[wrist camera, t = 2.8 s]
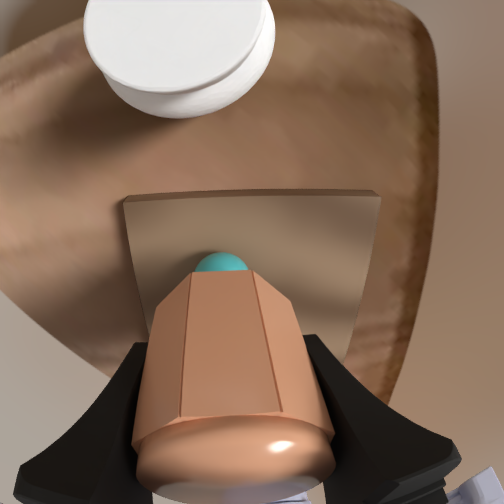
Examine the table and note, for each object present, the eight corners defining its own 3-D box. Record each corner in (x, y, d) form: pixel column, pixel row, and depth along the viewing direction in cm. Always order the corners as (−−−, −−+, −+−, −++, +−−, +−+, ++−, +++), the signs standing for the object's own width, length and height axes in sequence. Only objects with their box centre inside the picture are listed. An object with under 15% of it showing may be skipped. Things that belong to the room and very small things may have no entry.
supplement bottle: (126, 86, 13) (19, 82, 5) (178, 0, 11) (138, -100, 3) (217, 129, 15) (219, 169, 6) (270, 43, 13) (343, -22, 4)
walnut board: (337, 358, 24) (341, 368, 23) (163, 370, 23) (162, 382, 21) (372, 190, 17) (381, 196, 16) (128, 195, 16) (122, 202, 15)
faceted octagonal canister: (283, 364, 14) (316, 496, 8) (170, 370, 14) (161, 506, 8) (294, 267, 12) (359, 427, 6) (149, 273, 11) (105, 441, 5)
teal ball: (248, 287, 18) (253, 320, 16) (196, 289, 18) (194, 323, 15) (248, 240, 17) (254, 270, 14) (192, 243, 16) (188, 272, 14)
